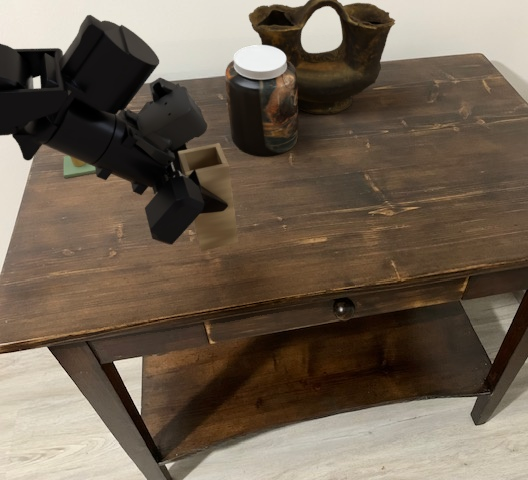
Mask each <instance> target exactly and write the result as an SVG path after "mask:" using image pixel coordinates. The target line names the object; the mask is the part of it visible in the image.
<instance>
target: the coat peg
mask: <svg viewBox="0 0 528 480" xmlns="http://www.w3.org/2000/svg"><path fill="white" fill-rule="evenodd" d="M91 174H96V170H95V167H94V166H92V165H89V164H87V163H85V162H83V161H80V160H78V159H75V158H73V157H71V156H68V155H63V177H64V179H68V178H73V177H79V176H85V175H91Z"/></svg>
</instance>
